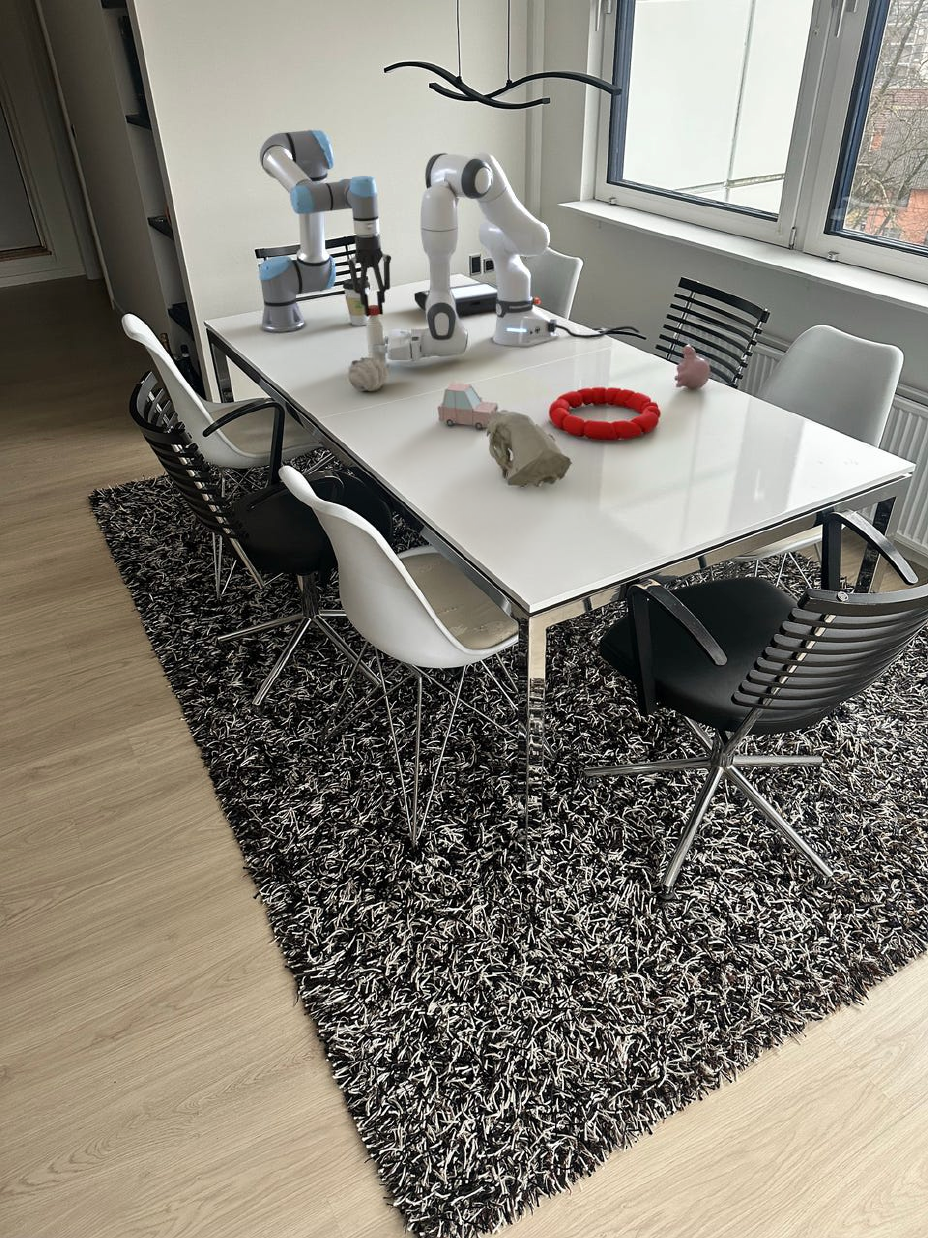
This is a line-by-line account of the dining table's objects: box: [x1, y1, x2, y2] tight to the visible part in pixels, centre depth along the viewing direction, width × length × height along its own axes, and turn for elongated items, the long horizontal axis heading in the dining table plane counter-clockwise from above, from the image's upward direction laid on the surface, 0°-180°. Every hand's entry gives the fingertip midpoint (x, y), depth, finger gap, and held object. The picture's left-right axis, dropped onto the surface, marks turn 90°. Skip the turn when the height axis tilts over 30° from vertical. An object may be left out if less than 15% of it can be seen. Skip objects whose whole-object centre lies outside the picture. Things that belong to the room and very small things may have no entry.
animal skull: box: [485, 409, 573, 489], centre depth 216 cm, size 17×25×20 cm
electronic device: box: [413, 281, 497, 317], centre depth 337 cm, size 32×6×20 cm
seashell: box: [347, 356, 388, 392], centre depth 266 cm, size 10×15×10 cm
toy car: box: [437, 382, 499, 431], centre depth 243 cm, size 9×15×10 cm, turn 70°
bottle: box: [365, 315, 388, 367], centre depth 282 cm, size 6×6×18 cm
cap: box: [369, 304, 380, 317], centre depth 278 cm, size 4×4×2 cm
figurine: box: [674, 344, 711, 390], centre depth 259 cm, size 9×11×12 cm
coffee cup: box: [342, 277, 371, 327], centre depth 323 cm, size 10×10×15 cm
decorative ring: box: [548, 386, 661, 442], centre depth 242 cm, size 7×30×30 cm
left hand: (373, 314), depth 278 cm, fingers closed on cap, 4 cm apart
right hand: (373, 344), depth 284 cm, fingers closed on bottle, 5 cm apart
